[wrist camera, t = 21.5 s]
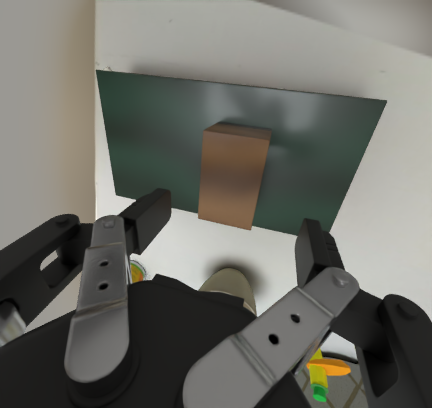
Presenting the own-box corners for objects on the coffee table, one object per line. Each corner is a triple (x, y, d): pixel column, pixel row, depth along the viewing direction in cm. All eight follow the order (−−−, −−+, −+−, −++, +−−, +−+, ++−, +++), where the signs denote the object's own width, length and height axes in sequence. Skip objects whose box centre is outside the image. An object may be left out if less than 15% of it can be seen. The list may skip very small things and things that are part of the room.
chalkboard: (131, 73, 26) (95, 69, 21) (362, 97, 21) (388, 100, 16) (141, 178, 33) (115, 195, 28) (317, 214, 28) (325, 242, 23)
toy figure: (334, 305, 35) (356, 396, 25) (338, 320, 36) (360, 411, 26) (291, 307, 38) (296, 389, 27) (296, 321, 39) (302, 404, 29)
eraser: (256, 204, 23) (250, 230, 19) (212, 195, 24) (197, 218, 20) (272, 128, 19) (270, 140, 15) (219, 121, 20) (202, 130, 16)
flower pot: (194, 273, 40) (179, 306, 34) (229, 247, 35) (218, 280, 29) (233, 305, 41) (225, 342, 35) (273, 284, 36) (271, 324, 30)
